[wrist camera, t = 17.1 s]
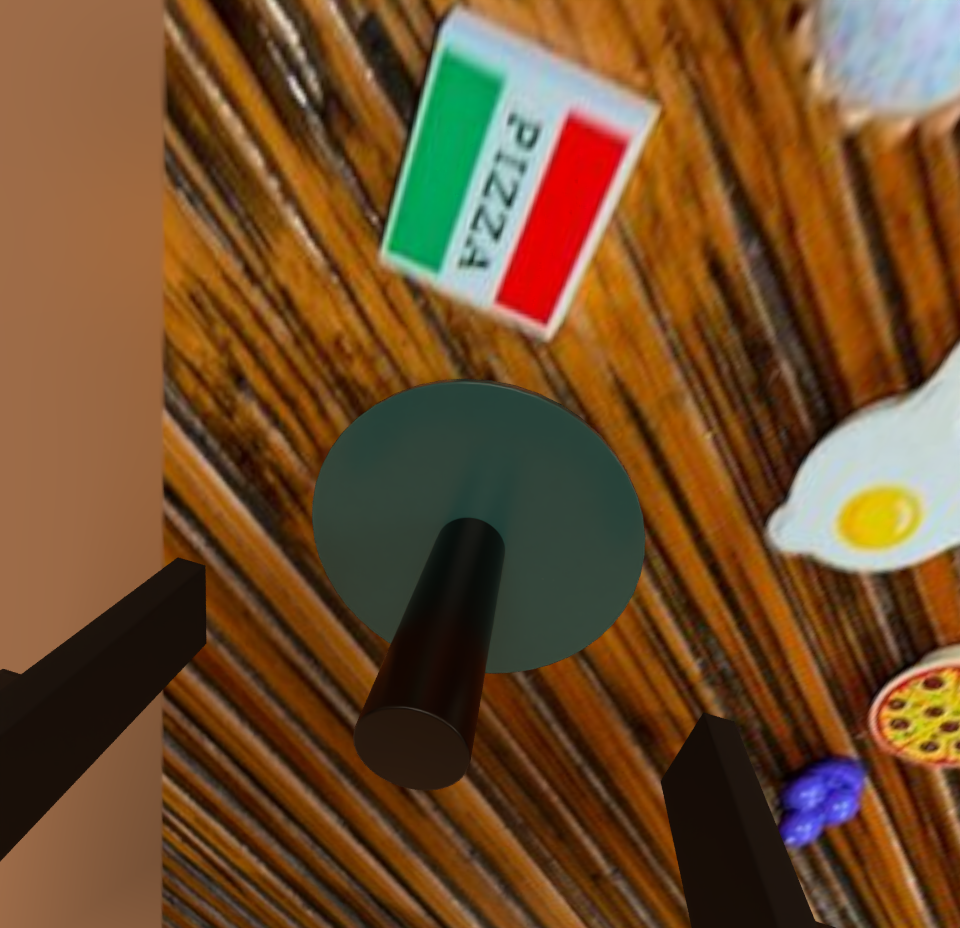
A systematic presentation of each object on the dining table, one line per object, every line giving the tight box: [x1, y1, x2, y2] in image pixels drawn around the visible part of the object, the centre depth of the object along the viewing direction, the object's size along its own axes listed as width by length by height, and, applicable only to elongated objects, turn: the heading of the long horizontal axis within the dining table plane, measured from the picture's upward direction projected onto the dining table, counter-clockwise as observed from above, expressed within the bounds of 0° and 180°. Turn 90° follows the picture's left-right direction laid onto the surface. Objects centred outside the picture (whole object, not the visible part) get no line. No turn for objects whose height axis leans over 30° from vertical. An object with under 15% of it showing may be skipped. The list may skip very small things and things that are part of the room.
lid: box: [312, 379, 645, 790], centre depth 14 cm, size 12×12×9 cm
